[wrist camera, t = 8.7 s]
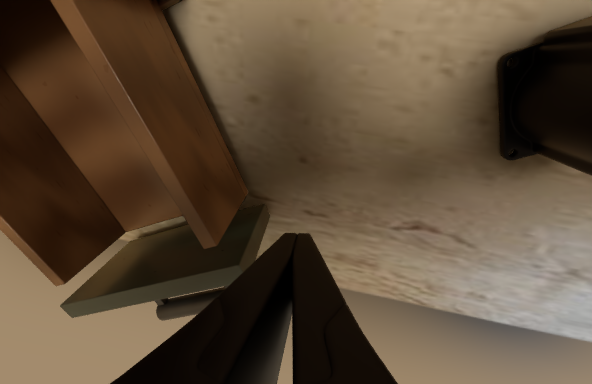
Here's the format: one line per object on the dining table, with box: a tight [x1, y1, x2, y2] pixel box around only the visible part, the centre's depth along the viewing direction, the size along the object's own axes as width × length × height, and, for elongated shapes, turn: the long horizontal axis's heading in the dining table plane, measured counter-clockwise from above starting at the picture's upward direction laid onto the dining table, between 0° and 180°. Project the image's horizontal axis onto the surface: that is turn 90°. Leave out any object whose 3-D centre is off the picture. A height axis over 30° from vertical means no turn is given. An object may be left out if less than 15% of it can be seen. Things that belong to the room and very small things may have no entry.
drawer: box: [0, 0, 270, 320], centre depth 16 cm, size 23×13×7 cm, turn 20°
